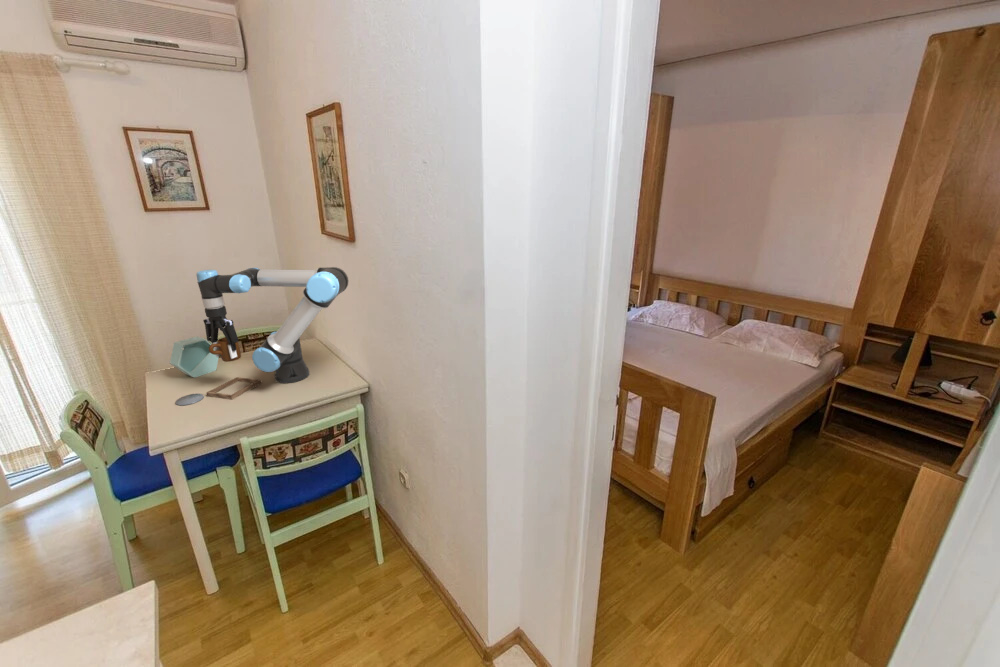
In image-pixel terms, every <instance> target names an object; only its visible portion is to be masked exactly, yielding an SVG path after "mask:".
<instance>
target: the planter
mask: <svg viewBox="0 0 1000 667" xmlns="http://www.w3.org/2000/svg"><path fill="white" fill-rule="evenodd" d="M211 344H212V343H211V341H207V338H204V337H200V336H197V335H196V336H193V337H192V336H191V337H190V338H189V337H188V338H186V339H182V340H179V341H174V342H173V346H172V350H171V351H172V352H171V356H170V361H169V364H170V365H171V366H173V367H174V368H176V369H177V370H179V371H180V372H182V374H185V375H187V376H188V377H190V378H198V377H200V376H203V375H207V374H210V373H213V372H215V371H217V368H218V363H219V358H220V356H219V357H216V355H214V354H211V353H210V352H209V346H210V345H211ZM213 350H214V349H213ZM214 351H215V350H214Z"/></svg>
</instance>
